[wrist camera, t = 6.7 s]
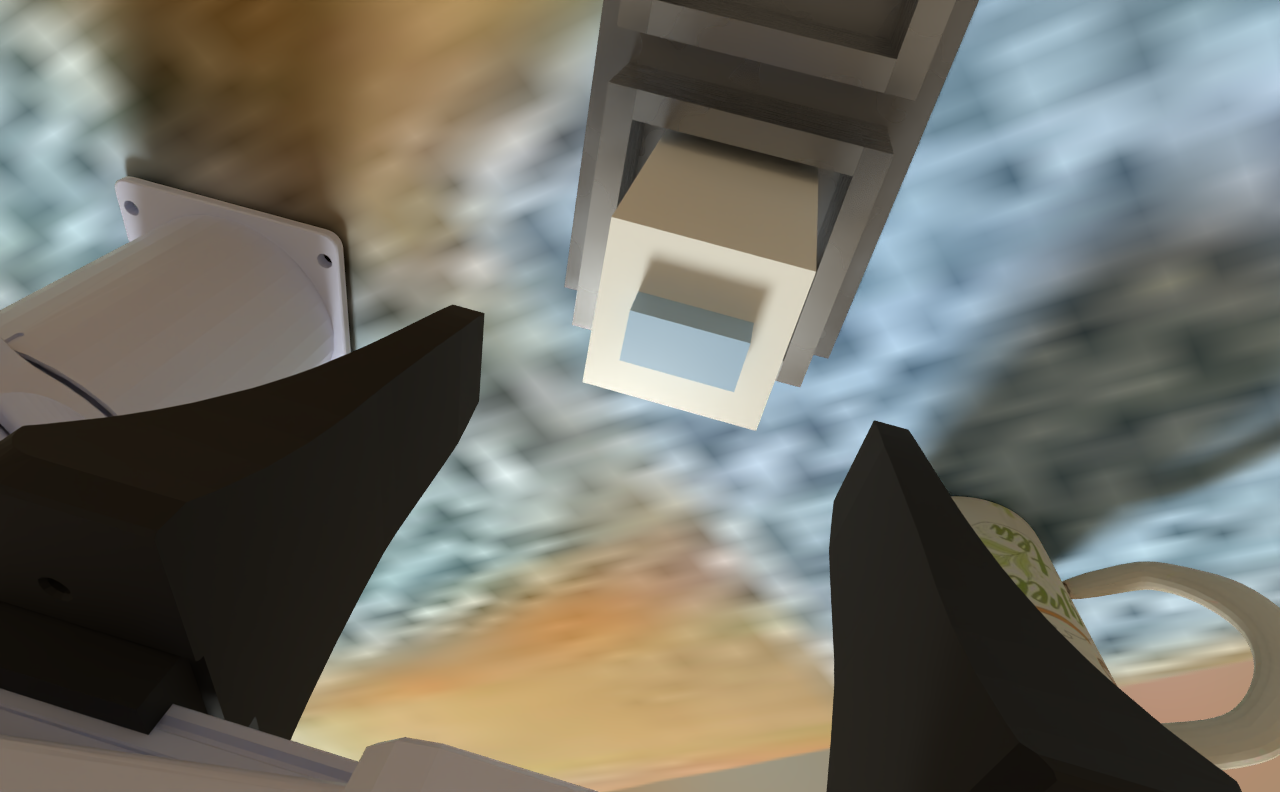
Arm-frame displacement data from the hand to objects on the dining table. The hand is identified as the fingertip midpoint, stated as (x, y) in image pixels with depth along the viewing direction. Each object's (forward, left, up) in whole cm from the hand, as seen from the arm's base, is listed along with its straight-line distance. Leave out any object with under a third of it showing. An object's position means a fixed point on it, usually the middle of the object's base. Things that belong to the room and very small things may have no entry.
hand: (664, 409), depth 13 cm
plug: (0, 0, -9) cm, 9 cm away
